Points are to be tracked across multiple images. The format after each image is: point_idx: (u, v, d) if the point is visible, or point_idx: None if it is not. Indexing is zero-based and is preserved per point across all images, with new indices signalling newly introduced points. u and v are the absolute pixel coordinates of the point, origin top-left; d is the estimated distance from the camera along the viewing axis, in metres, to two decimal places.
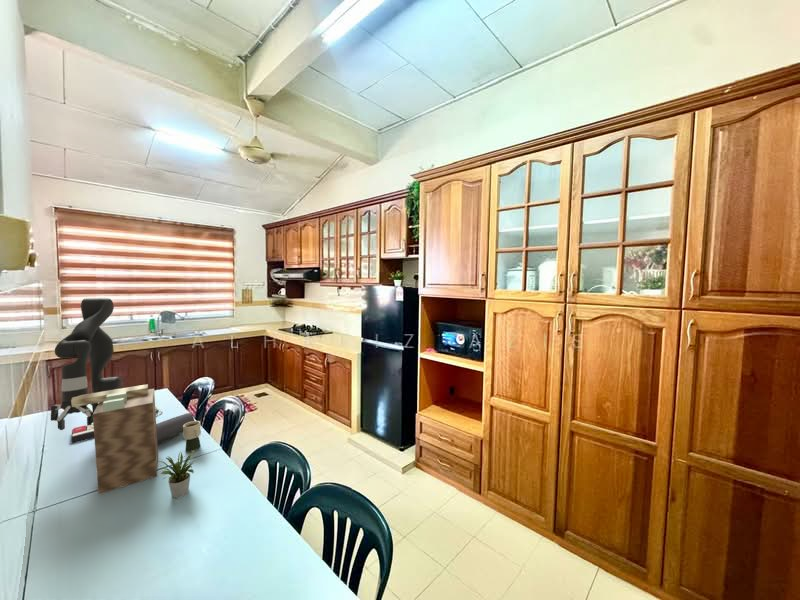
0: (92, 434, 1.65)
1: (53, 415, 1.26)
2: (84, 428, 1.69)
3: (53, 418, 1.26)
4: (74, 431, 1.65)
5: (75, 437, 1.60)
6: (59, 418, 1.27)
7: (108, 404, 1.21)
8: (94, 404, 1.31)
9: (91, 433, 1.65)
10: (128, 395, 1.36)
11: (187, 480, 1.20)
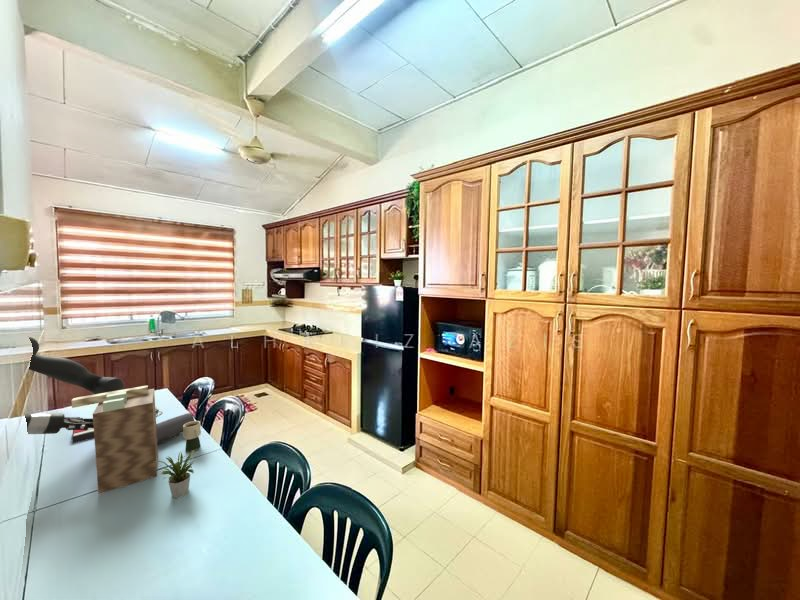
0: (93, 434, 1.65)
1: None
2: None
3: None
4: (75, 431, 1.65)
5: (76, 437, 1.61)
6: None
7: (108, 404, 1.21)
8: (73, 429, 1.24)
9: (92, 433, 1.65)
10: (129, 395, 1.36)
11: (187, 480, 1.20)
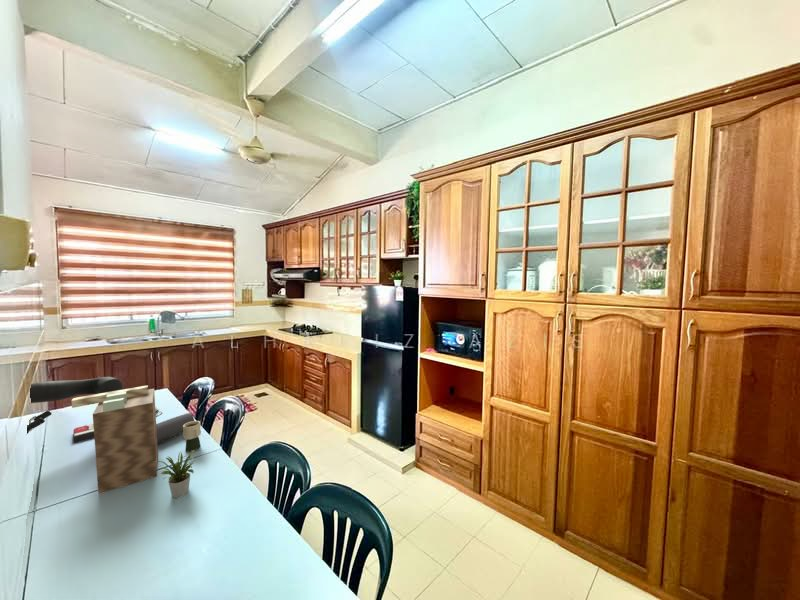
0: None
1: None
2: (86, 428, 1.69)
3: None
4: (76, 431, 1.65)
5: (77, 437, 1.61)
6: None
7: (108, 404, 1.21)
8: None
9: (93, 433, 1.65)
10: (129, 395, 1.36)
11: (187, 480, 1.20)
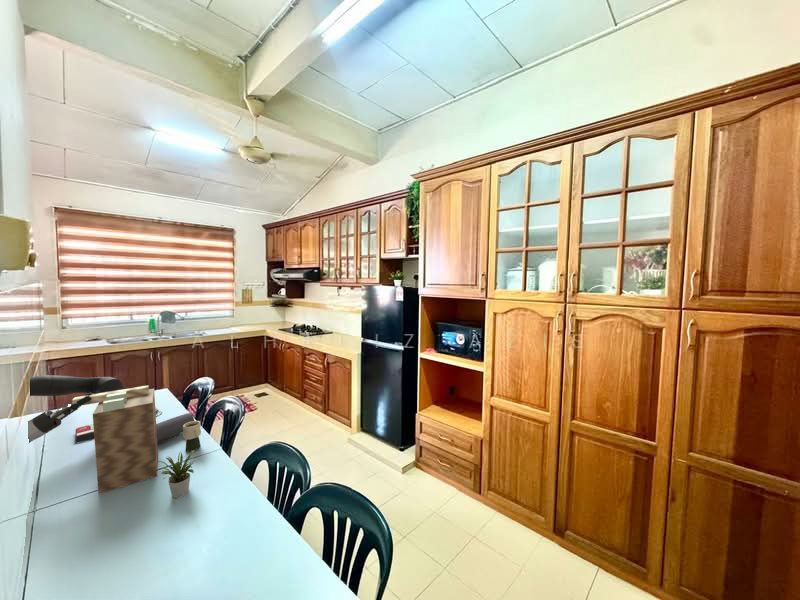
0: None
1: None
2: (88, 428, 1.69)
3: None
4: (78, 431, 1.66)
5: (79, 436, 1.61)
6: None
7: (108, 404, 1.21)
8: None
9: None
10: (129, 395, 1.36)
11: (187, 480, 1.20)
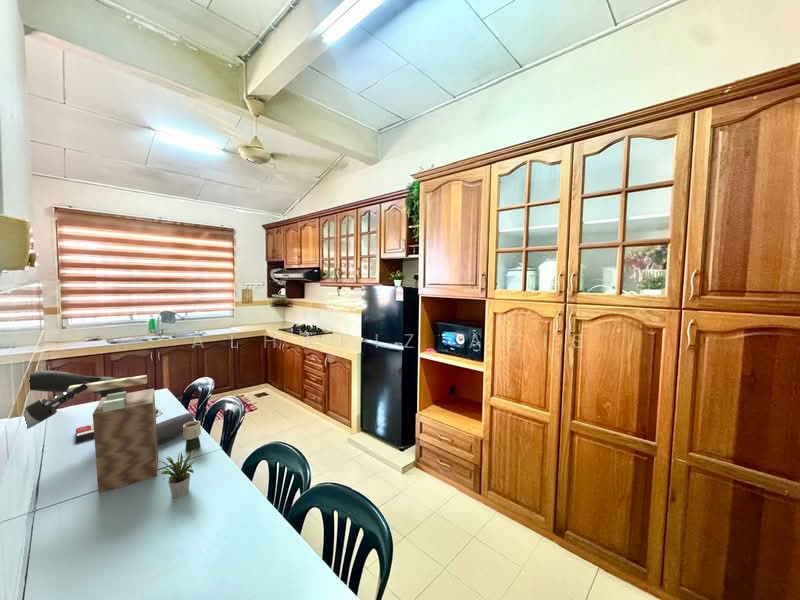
0: None
1: None
2: (88, 428, 1.69)
3: None
4: (78, 431, 1.65)
5: (79, 437, 1.61)
6: None
7: (108, 404, 1.21)
8: (61, 404, 1.18)
9: None
10: (126, 384, 1.33)
11: (187, 480, 1.20)
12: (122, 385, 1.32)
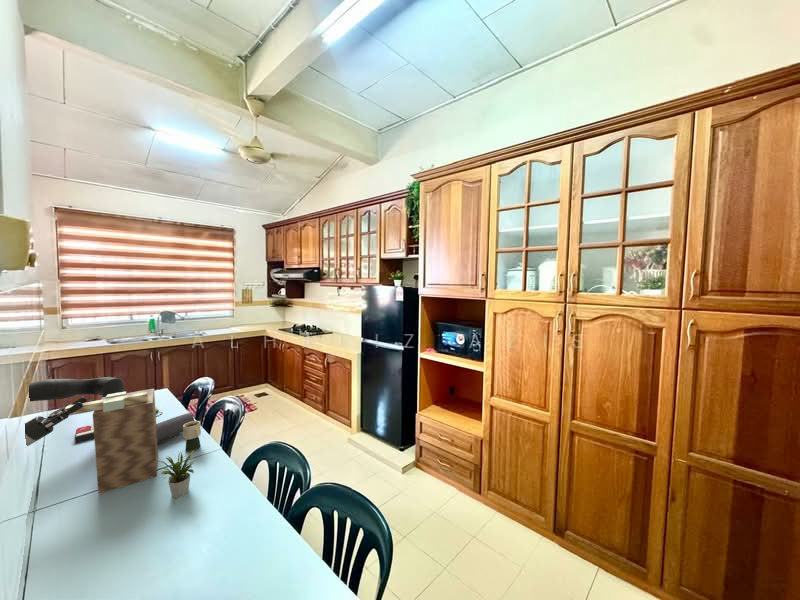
0: None
1: None
2: (88, 428, 1.69)
3: None
4: (78, 431, 1.65)
5: (79, 437, 1.60)
6: None
7: (108, 404, 1.21)
8: None
9: None
10: (126, 402, 1.27)
11: (187, 480, 1.20)
12: None
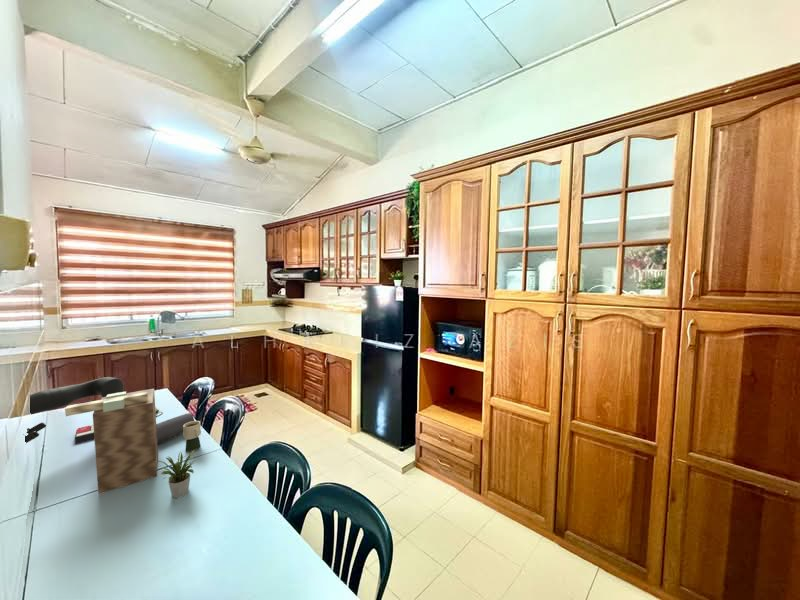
0: None
1: None
2: (88, 428, 1.68)
3: None
4: (78, 431, 1.65)
5: (79, 437, 1.60)
6: None
7: (108, 404, 1.21)
8: None
9: None
10: (126, 402, 1.27)
11: (187, 480, 1.20)
12: None
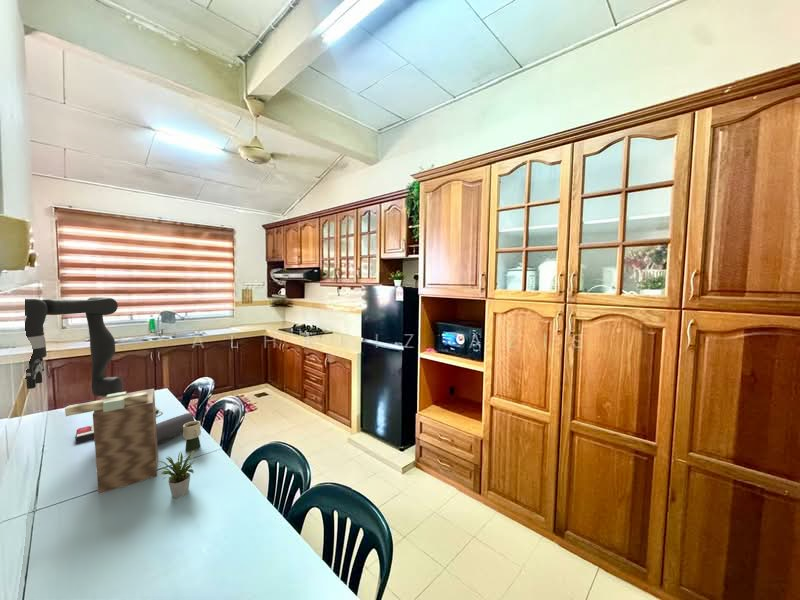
0: None
1: None
2: (88, 428, 1.68)
3: None
4: (78, 431, 1.65)
5: (79, 438, 1.60)
6: None
7: (108, 404, 1.21)
8: None
9: None
10: (126, 402, 1.27)
11: (187, 480, 1.20)
12: None
